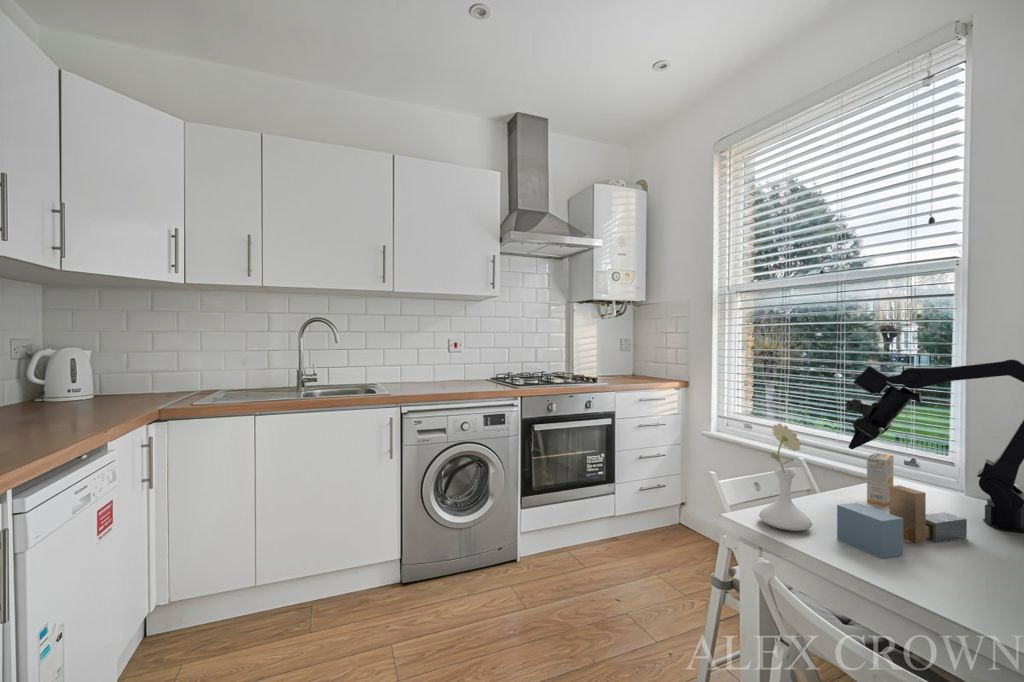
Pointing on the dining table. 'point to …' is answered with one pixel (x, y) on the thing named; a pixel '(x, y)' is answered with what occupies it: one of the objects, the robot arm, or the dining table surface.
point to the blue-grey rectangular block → (870, 530)
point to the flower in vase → (785, 489)
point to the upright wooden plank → (911, 513)
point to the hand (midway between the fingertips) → (853, 446)
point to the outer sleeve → (946, 527)
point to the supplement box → (879, 478)
